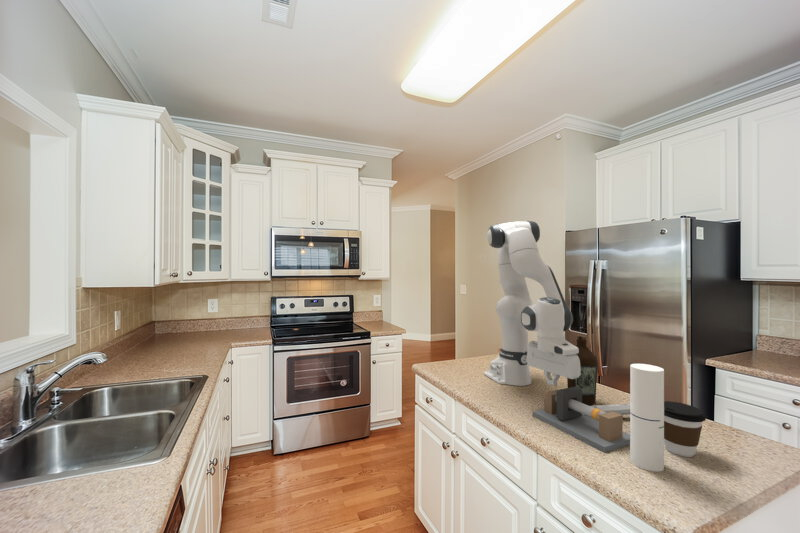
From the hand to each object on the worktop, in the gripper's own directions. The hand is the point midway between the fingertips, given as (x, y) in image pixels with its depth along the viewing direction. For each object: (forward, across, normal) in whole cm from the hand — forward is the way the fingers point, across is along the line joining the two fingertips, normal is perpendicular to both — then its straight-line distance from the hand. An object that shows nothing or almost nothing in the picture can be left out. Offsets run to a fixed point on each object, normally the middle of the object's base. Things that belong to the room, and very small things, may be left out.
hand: (552, 384), depth 119 cm
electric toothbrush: (+11, +11, +20) cm, 26 cm away
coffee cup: (+12, +31, +13) cm, 36 cm away
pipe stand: (+11, +10, 0) cm, 15 cm away
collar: (+9, +7, 0) cm, 11 cm away
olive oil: (+11, -5, +20) cm, 23 cm away
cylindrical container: (+11, +32, -2) cm, 34 cm away
